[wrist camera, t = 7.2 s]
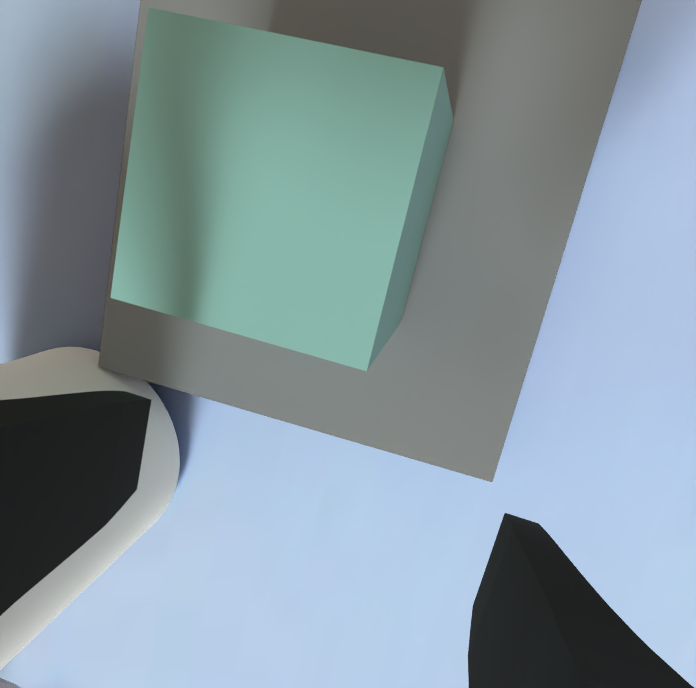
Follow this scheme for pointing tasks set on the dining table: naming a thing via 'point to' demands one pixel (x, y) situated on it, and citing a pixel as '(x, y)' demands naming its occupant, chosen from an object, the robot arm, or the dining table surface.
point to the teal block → (278, 185)
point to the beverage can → (127, 524)
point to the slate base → (440, 232)
